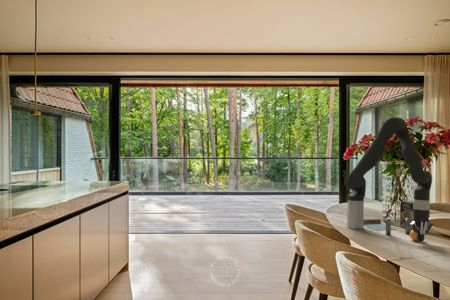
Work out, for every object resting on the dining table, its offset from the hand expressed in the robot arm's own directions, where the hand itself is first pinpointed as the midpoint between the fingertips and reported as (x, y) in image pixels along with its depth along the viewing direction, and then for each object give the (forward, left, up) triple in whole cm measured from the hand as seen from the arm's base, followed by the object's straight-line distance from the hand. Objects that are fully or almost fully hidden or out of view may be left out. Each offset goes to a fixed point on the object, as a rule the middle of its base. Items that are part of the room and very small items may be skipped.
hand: (420, 240), depth 172 cm
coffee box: (-30, +20, -1) cm, 36 cm away
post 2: (-17, +7, -1) cm, 19 cm away
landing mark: (-34, +1, -1) cm, 34 cm away
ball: (-4, +1, +2) cm, 5 cm away
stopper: (-45, +1, -1) cm, 45 cm away
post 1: (-17, -6, -1) cm, 18 cm away
